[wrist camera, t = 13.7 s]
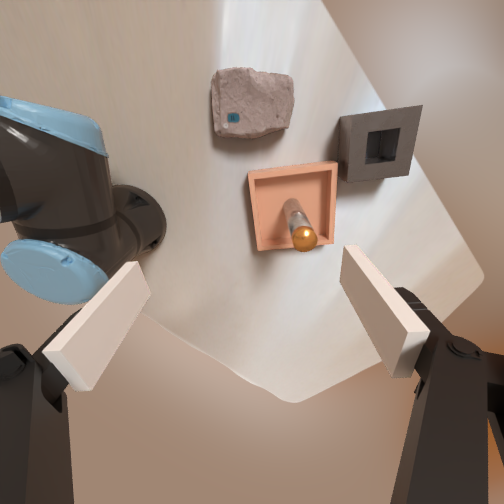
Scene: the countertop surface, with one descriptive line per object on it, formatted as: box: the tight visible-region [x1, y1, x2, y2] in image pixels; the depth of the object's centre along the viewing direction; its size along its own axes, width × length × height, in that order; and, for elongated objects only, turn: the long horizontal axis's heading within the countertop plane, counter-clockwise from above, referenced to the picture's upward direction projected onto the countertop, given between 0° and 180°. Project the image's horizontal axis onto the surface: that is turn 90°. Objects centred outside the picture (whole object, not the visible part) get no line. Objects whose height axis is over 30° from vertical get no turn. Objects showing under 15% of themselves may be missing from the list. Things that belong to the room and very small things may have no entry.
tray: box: [248, 160, 338, 251], centre depth 45 cm, size 16×16×4 cm
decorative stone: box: [211, 67, 294, 139], centre depth 36 cm, size 13×10×6 cm
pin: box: [283, 198, 318, 252], centre depth 39 cm, size 4×4×16 cm
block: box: [337, 105, 423, 183], centre depth 38 cm, size 10×10×6 cm
